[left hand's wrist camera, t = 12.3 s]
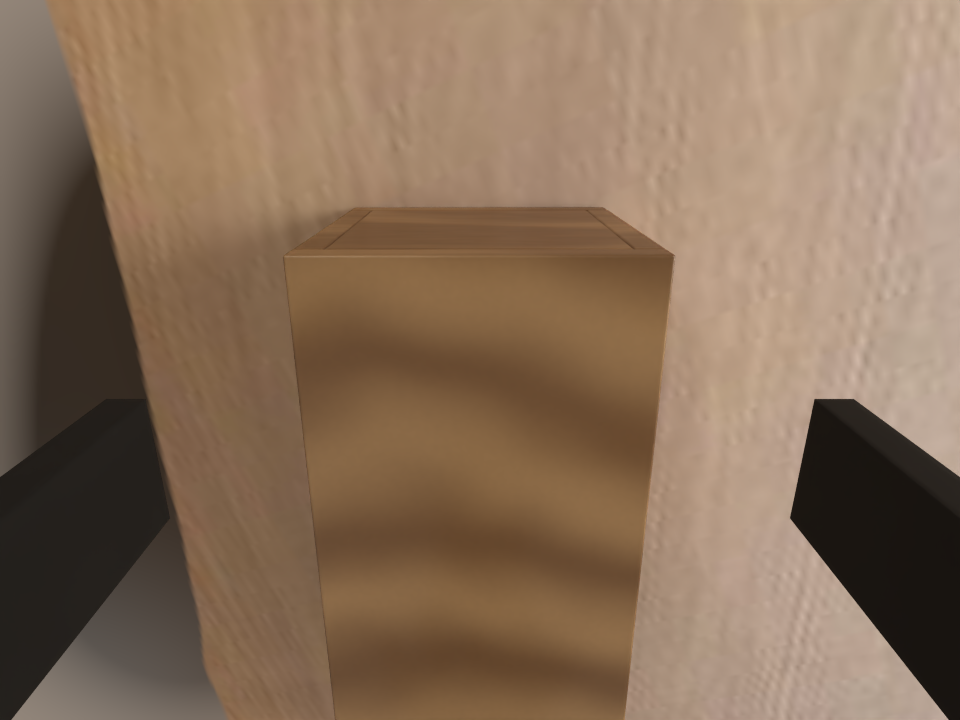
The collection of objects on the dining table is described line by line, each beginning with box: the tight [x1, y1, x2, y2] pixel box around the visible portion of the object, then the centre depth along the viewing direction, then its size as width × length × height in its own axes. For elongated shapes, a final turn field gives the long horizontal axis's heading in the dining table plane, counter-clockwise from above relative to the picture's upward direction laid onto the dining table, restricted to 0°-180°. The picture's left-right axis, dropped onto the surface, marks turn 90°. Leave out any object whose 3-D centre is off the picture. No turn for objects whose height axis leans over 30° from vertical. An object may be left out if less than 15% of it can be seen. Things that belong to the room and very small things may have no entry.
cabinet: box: [283, 207, 675, 720], centre depth 24 cm, size 19×10×10 cm, turn 0°
